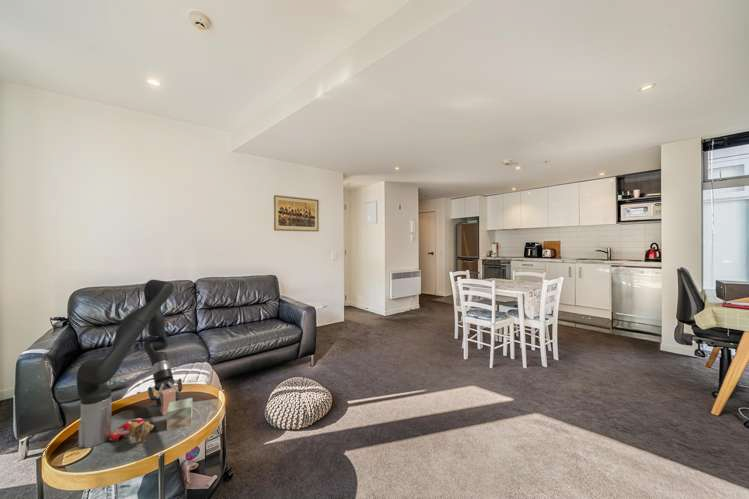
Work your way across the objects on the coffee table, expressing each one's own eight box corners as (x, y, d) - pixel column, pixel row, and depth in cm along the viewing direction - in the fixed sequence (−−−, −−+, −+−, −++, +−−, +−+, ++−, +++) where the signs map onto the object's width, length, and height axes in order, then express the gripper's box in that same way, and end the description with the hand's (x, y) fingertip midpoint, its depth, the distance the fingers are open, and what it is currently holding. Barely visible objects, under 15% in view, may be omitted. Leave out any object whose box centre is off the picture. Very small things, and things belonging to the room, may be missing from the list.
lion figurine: (155, 441, 121) (155, 419, 121) (141, 449, 116) (141, 427, 116) (132, 433, 126) (132, 412, 126) (118, 440, 121) (118, 419, 121)
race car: (114, 444, 120) (114, 434, 120) (105, 441, 121) (105, 432, 121) (147, 425, 132) (147, 416, 132) (138, 423, 134) (138, 414, 134)
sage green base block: (166, 430, 128) (166, 411, 128) (169, 419, 136) (169, 402, 136) (191, 424, 133) (191, 406, 133) (192, 414, 141) (192, 397, 141)
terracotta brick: (163, 415, 140) (163, 394, 139) (160, 411, 143) (160, 391, 143) (175, 411, 143) (175, 390, 143) (172, 407, 147) (172, 387, 146)
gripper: (145, 373, 142) (152, 406, 135) (180, 364, 153) (187, 394, 146) (143, 380, 146) (149, 413, 138) (177, 371, 157) (184, 401, 149)
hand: (168, 403), depth 142 cm, fingers open, 6 cm apart
